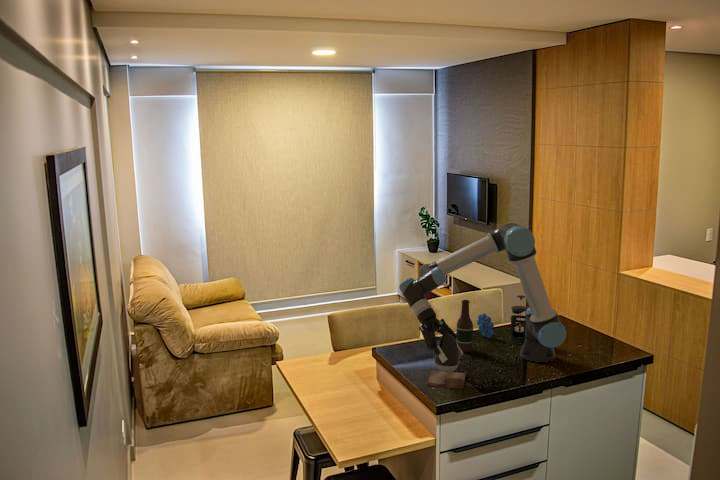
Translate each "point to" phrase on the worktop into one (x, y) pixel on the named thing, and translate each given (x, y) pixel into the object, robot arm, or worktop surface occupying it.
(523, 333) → the french press
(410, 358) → the worktop surface
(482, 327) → the grapes
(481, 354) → the worktop surface
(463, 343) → the beer bottle
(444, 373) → the walnut board
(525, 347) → the robot arm
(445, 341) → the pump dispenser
